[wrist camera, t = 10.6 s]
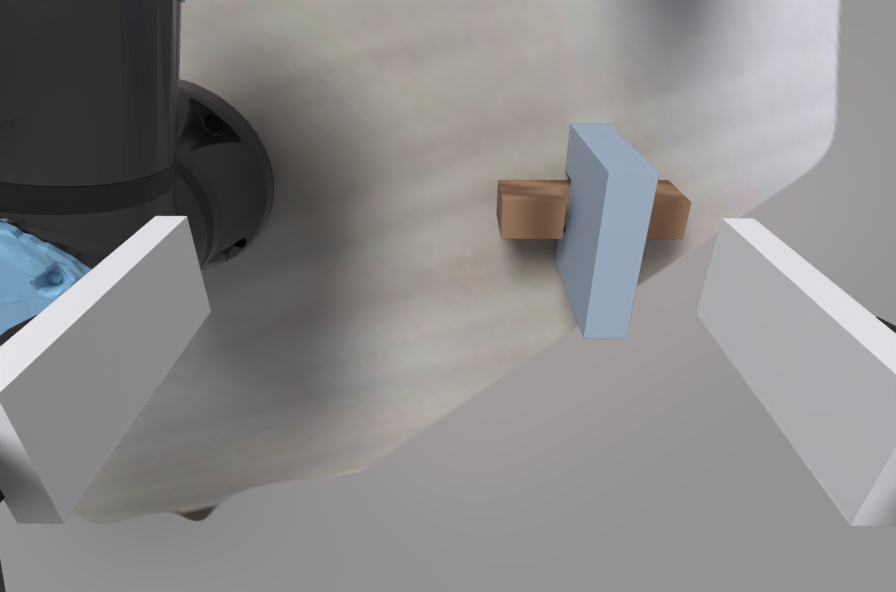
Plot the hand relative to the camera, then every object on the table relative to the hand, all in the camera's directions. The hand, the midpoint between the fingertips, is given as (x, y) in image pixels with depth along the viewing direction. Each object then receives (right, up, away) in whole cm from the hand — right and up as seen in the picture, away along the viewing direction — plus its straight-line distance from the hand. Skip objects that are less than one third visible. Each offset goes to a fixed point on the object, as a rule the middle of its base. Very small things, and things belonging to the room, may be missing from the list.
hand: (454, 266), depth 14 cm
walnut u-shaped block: (+11, +8, +32) cm, 35 cm away
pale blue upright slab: (+11, +8, +32) cm, 35 cm away
